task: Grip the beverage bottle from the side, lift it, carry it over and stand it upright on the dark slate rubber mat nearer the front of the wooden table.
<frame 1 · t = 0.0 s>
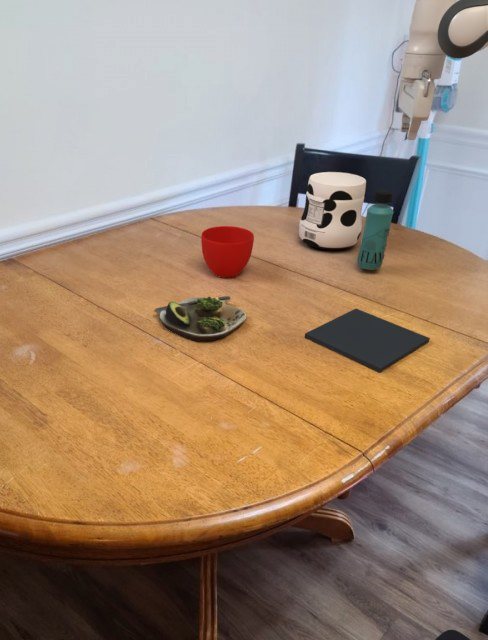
hand: (407, 135, 135), 31 cm above the table, tool pointing down, fingers open, 8 cm apart
ceramic cup: (226, 270, 146), on the table
beverage bottle: (367, 271, 147), on the table
mat: (366, 339, 116), on the table
milk container: (327, 244, 163), on the table
salad plate: (199, 323, 122), on the table
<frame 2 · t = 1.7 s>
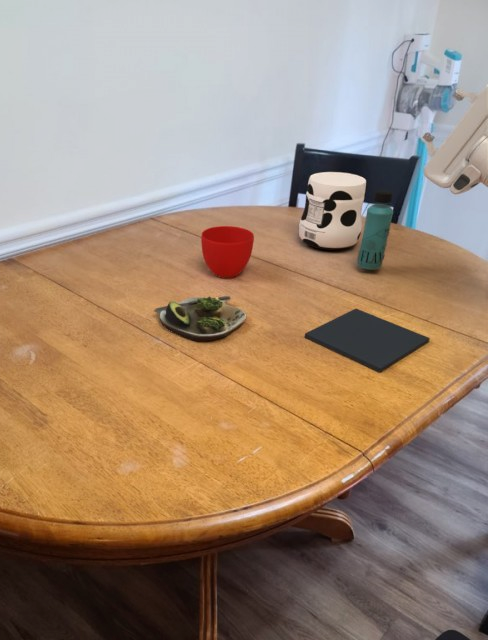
hand: (439, 114, 115), 38 cm above the table, tool pointing upward, fingers open, 8 cm apart
nothing on the table moved.
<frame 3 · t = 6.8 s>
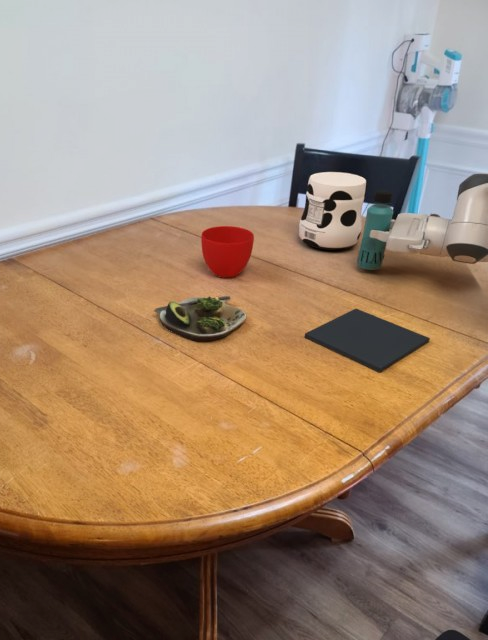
hand: (373, 228, 141), 11 cm above the table, tool horizontal, fingers closed on beverage bottle, 6 cm apart
beverage bottle: (367, 271, 147), on the table, touching gripper
everything else where it was.
when the fingers open (12 cm above the table, at t = 16.5 s): beverage bottle stays where it is, resting on mat.
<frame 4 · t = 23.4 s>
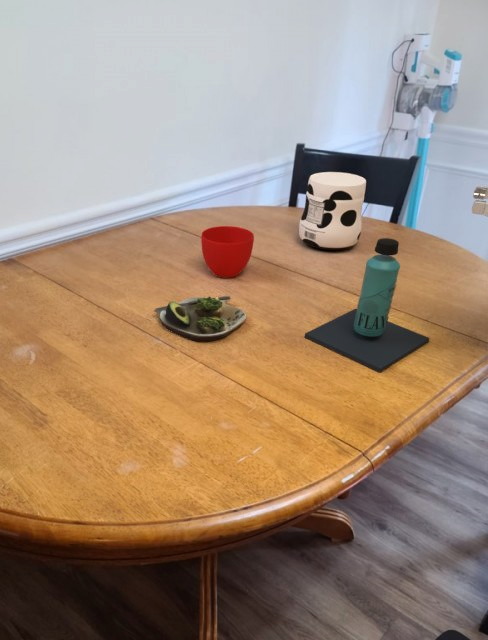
hand: (473, 199, 95), 30 cm above the table, tool horizontal, fingers open, 8 cm apart
beverage bottle: (367, 336, 116), point 1 cm above the table, touching mat
everything else where it was.
at the end: beverage bottle inside the target area on the mat (0.1 cm from its centre), point 0.8 cm above the mat's base; beverage bottle tilted 0°; the gripper is holding nothing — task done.
